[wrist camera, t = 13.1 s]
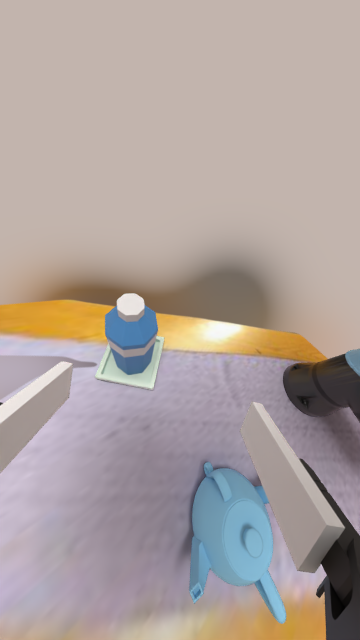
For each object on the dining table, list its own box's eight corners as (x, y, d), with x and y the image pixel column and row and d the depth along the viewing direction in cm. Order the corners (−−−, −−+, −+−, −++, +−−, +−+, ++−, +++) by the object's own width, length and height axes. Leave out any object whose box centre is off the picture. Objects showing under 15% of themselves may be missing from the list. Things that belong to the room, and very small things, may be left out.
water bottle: (109, 351, 46) (85, 291, 25) (141, 336, 50) (143, 273, 29) (125, 382, 43) (113, 344, 22) (157, 363, 47) (173, 315, 26)
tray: (163, 341, 52) (164, 337, 50) (152, 390, 44) (153, 388, 42) (116, 330, 50) (115, 326, 48) (96, 379, 43) (94, 377, 41)
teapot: (266, 583, 32) (320, 651, 22) (176, 561, 31) (193, 620, 21) (263, 475, 40) (302, 490, 31) (193, 455, 39) (210, 464, 30)
